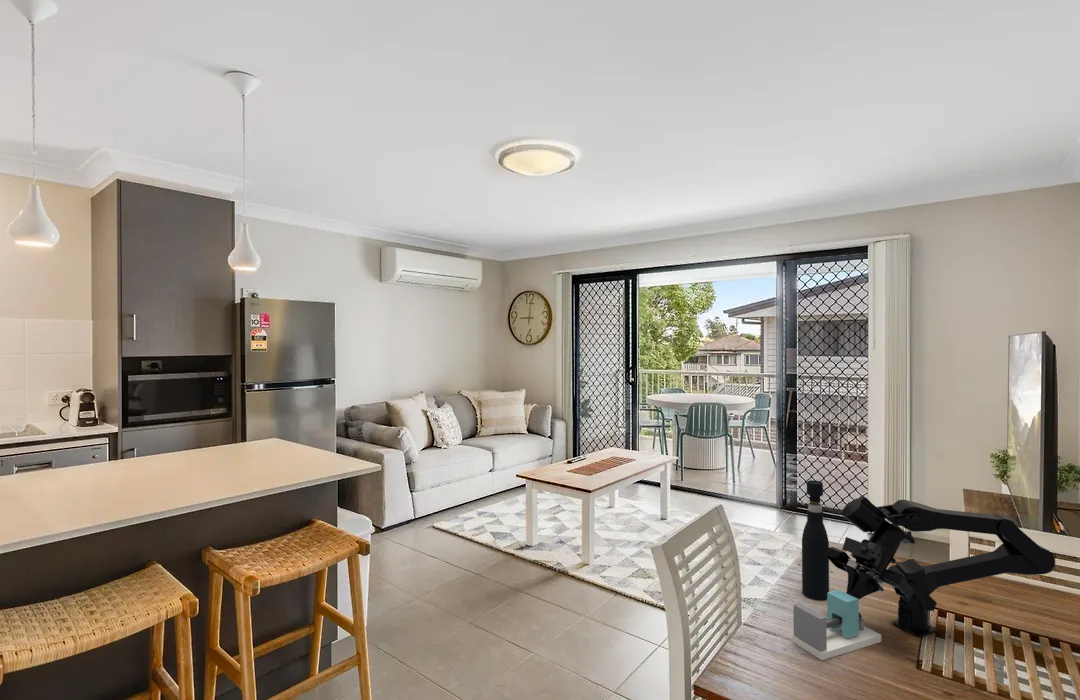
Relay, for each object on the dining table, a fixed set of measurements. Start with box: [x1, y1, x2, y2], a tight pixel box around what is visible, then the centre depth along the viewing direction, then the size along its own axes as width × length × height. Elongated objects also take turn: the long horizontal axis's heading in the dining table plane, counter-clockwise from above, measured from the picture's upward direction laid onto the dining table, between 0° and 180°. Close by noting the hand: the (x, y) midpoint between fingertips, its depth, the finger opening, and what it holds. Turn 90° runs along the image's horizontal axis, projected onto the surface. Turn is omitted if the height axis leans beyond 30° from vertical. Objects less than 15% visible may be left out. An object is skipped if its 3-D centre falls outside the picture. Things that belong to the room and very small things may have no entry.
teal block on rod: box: [826, 589, 860, 638], centre depth 122 cm, size 4×5×8 cm
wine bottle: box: [801, 480, 830, 601], centre depth 143 cm, size 6×6×30 cm
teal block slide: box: [791, 602, 882, 661], centre depth 121 cm, size 18×8×8 cm, turn 112°
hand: (847, 601), depth 123 cm, fingers closed
